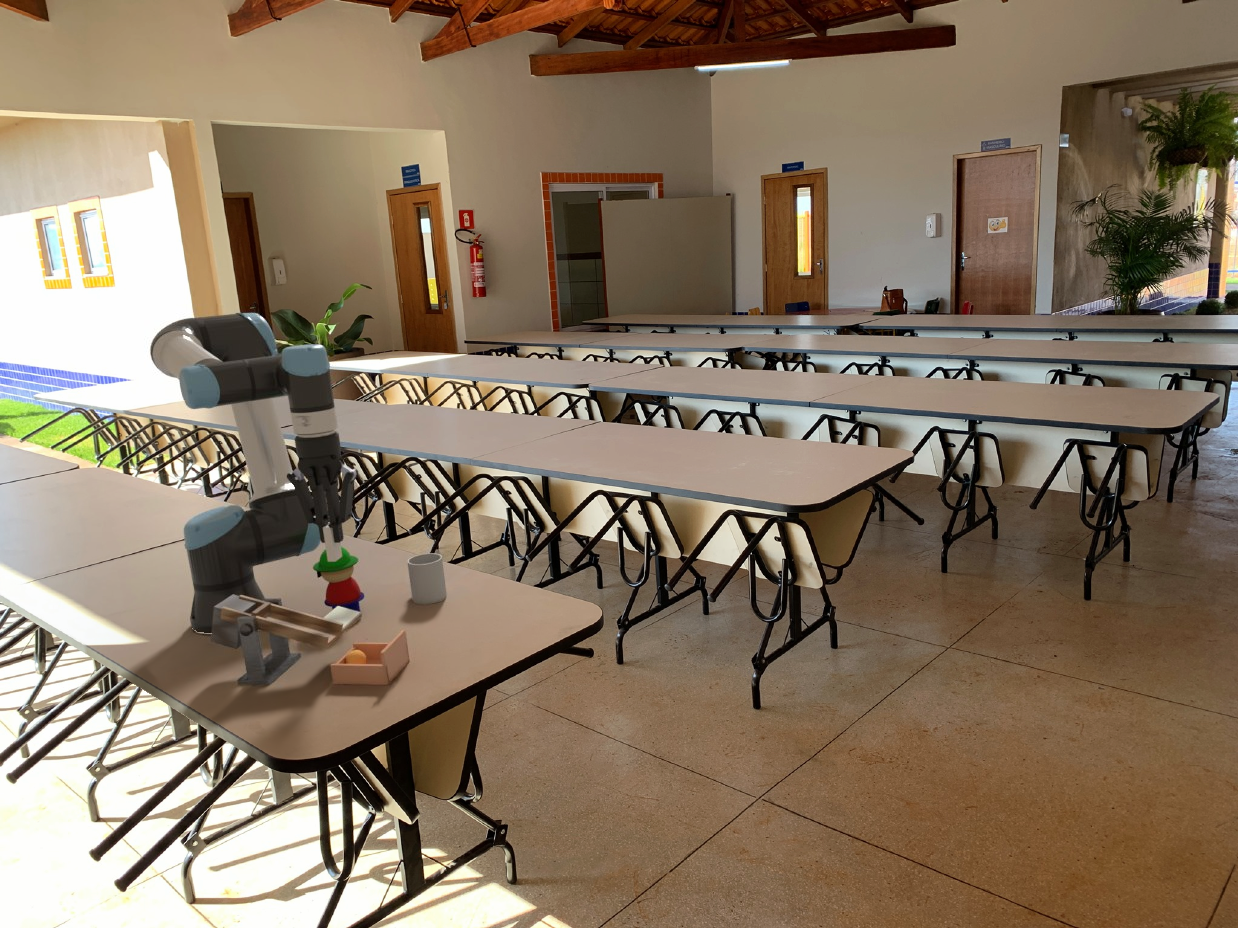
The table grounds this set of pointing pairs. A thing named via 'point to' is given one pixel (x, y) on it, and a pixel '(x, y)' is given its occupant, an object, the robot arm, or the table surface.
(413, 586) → the cup
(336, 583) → the toy
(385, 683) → the pink open box
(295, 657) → the bracket
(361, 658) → the ball
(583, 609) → the table surface
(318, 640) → the lever
